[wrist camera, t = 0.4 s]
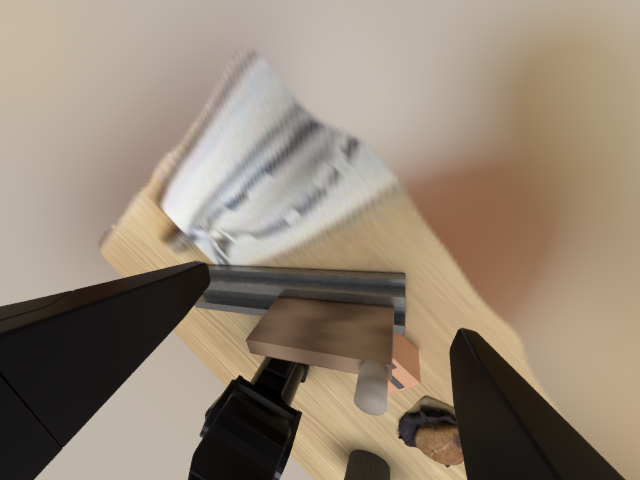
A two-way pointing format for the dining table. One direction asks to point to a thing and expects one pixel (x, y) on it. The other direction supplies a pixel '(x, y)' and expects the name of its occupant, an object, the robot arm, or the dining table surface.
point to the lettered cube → (404, 365)
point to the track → (300, 289)
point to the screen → (332, 341)
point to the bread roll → (432, 431)
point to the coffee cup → (366, 467)
